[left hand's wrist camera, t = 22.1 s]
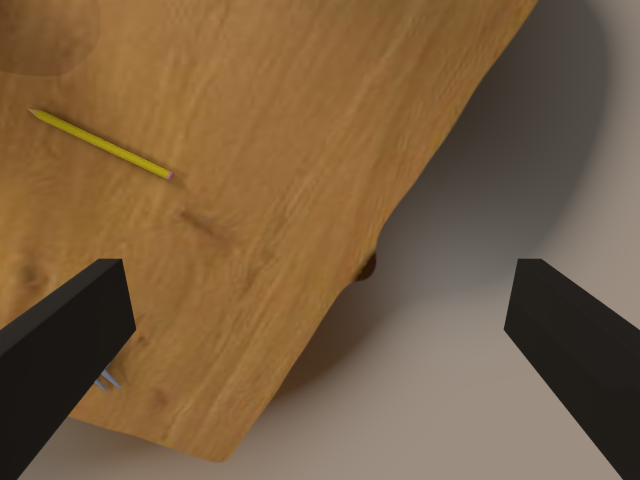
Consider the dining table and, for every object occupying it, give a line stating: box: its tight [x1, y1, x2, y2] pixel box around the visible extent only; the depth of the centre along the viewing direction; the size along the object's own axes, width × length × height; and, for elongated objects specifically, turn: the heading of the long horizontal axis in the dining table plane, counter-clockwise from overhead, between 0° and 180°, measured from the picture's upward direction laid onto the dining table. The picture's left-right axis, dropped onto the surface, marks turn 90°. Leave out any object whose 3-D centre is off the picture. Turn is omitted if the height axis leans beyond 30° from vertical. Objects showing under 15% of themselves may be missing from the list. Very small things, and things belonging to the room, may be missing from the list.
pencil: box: [27, 108, 173, 180], centre depth 42 cm, size 16×1×1 cm, turn 63°
